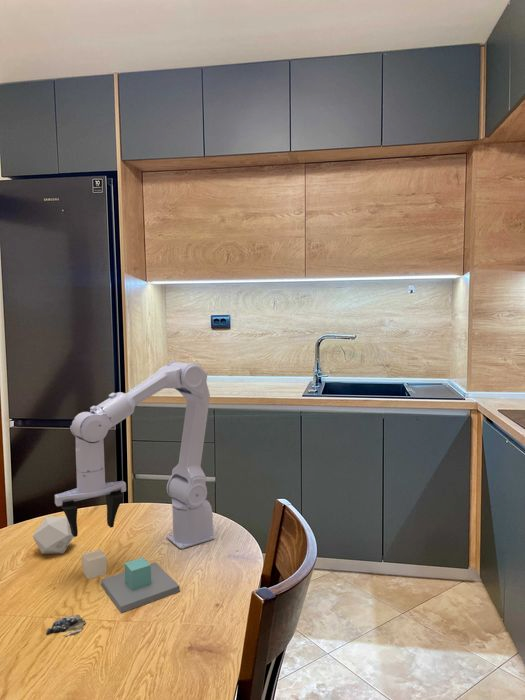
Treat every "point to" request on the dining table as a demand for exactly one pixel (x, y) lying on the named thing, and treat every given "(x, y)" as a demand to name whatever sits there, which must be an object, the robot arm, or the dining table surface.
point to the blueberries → (67, 625)
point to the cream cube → (94, 564)
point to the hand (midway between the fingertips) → (92, 530)
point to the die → (53, 535)
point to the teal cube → (137, 573)
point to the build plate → (132, 599)
